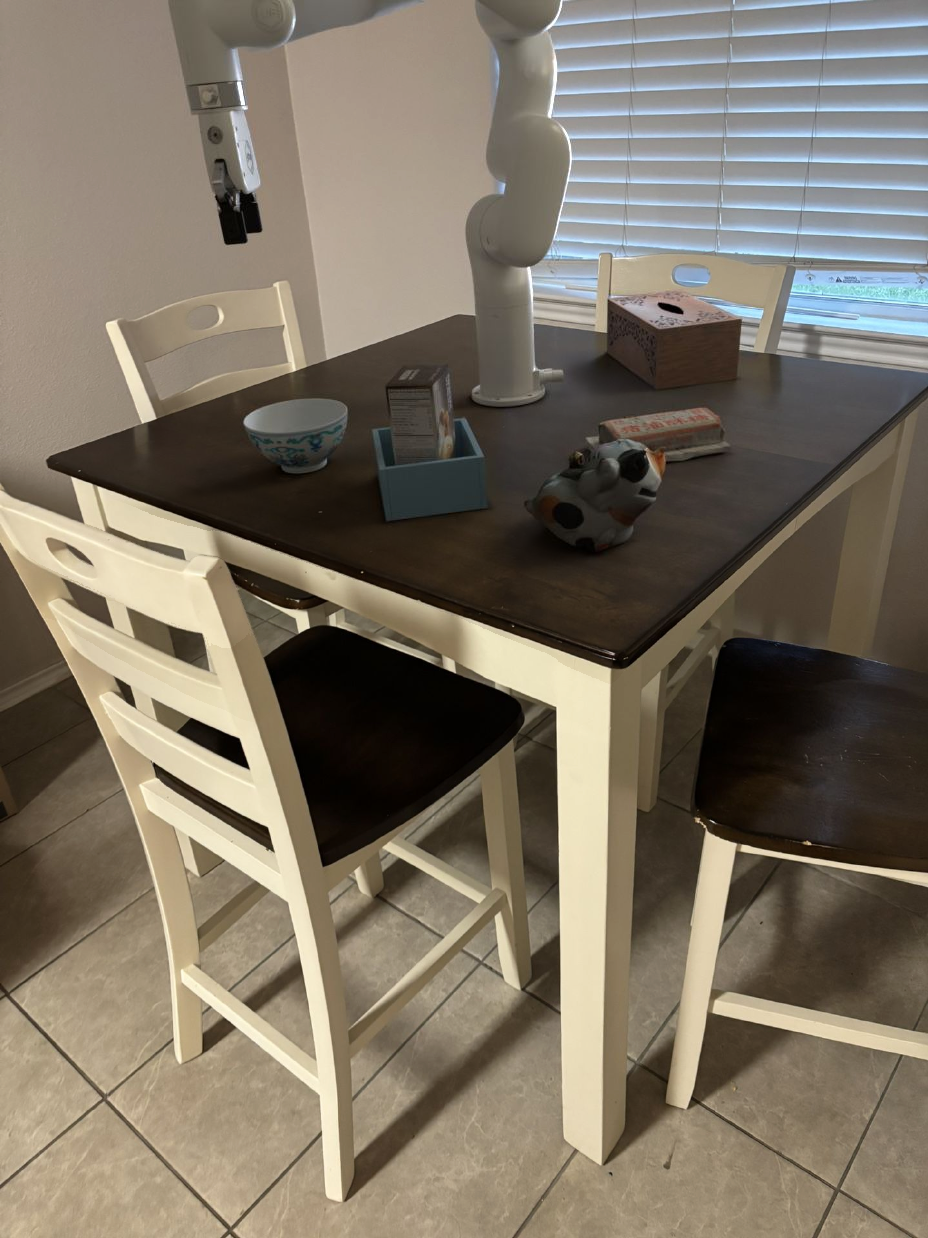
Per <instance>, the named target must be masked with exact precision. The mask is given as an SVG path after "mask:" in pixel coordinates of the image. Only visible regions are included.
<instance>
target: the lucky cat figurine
mask: <svg viewBox="0 0 928 1238" xmlns="http://www.w3.org/2000/svg"><path fill="white" fill-rule="evenodd" d="M665 452H666V447H660V448H658V449H657V450H655V451H654V452H652V451H651V450H649V449H648V448H647V447H646V446H645V445H643V444H642V443H639V442H634V441H632V440H628V439H618V440H617V441H613V442H610V443H605V444H602V445H600V446H599V447H597V449H595V450H593V451H592V452H591V451H590V454H589V455H588V456H587V458H586V461H585V456H584V454H583V453H581V452H579V451H575V452H574V453H572V454H571V455H570V456H569V457H568V464H569V466H568V467H567V468H565V469H563V470H562V471H559V472H555V473H553V474H551V475H550V476H549V477H548V478H546V479H545V480H544V482H543V483H542V485H541V487H540V488H539V490H538V492H537V494H536V495H535V496H534V497H530V498H528V499H526V500H524V503H523V504H524V505H523V506H524V508H525V510H526V511H527V512H528V513H529V514H530V515H531V516H532V517H533V518H535V519H536V520H537V521H538V522H540V523H541V524H542V525H543V526H545V527H546V528H547V529H548V530H549V531H550V532H551V533H552V534H553V535H555V536H556V537H557V538H559V539H561V540H563V541H564V542H565V543H567V544H569V545H571V546H573V547H577V548H578V547H581V546H586V548H587V549H588V551H589V552H590V553H591V552H594V553H599V552H601V551H604V550H606V549H609V548H612V547H614V546H617V545H620V544H623V543H625V542H627V541H629V539H630V538H631V536H632V534H633V533H634V524H635V521H636V520H637V518H638V517H639V516H641V514H642V513H644V512H647V511H648V509H649V508H650V507H651V506H652V505H653V504H654V503H655V502H656V501H657V491H658V489H659V487H660V485H661V483H662V477H663V475H664V473H665V470H666V461H665V456H664V453H665Z"/></svg>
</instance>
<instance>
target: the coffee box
mask: <svg viewBox="0 0 928 1238" xmlns="http://www.w3.org/2000/svg"><path fill="white" fill-rule="evenodd" d="M450 371H451V370H450V364H449V363H435V364H404V365H403V366H402V367H400V369H399V370H397V372H396V373H395V374H394V375H393V377H392V378H391V379H390V380H389V381H388V382H387V383H386V384H385V386H384V389H385V395H386V397H385V398H386V403H387V412H388V421H389V427H390V429H391V437H392V445H393V453H394V461H395V466H397V465H405V464H413V463H421V462H429V461H437V460H444V459H452V458H457V450H456V439H455V428H454V419H455V418H454V407H453V395H452V384H451V373H450Z"/></svg>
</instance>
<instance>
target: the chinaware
mask: <svg viewBox="0 0 928 1238" xmlns="http://www.w3.org/2000/svg"><path fill="white" fill-rule="evenodd" d="M348 415H349V411H348V407H347V405H346V404H344V403H343V402H341V401H338V400H335V399H330V398H298V399H290V400H285V401H284V400H283V401H279V402H275V403H272V404H268V405H265V406H262V407H260V408H257V409H255V410H253V411H252V412H249V414H247V415H245V417H244V419H243V421H242V425H243V427H244V430H245V432H246V434H247V436H248V439H250V441H251V443H252V445H253V446H254V447H255V449H257V451H259V453H260V454H261V455H263V456H264V457H265V458H267V459H268V460H270V461H271V462H273V463H275V464H277V465H279V466H281V469H282V471H284V472H285V473H289V474H306V473H312V472H315V471H318V470H320V469H322V468H324V467H325V466H326V465H327V464H328V458H329V457H330V456H332V455H333V453H334V452H335V451H336V450H337V449H338V448H339V445H340V444H341V442H342V441H343V439H344V435H345V433H346V428H347V424H348Z"/></svg>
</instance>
